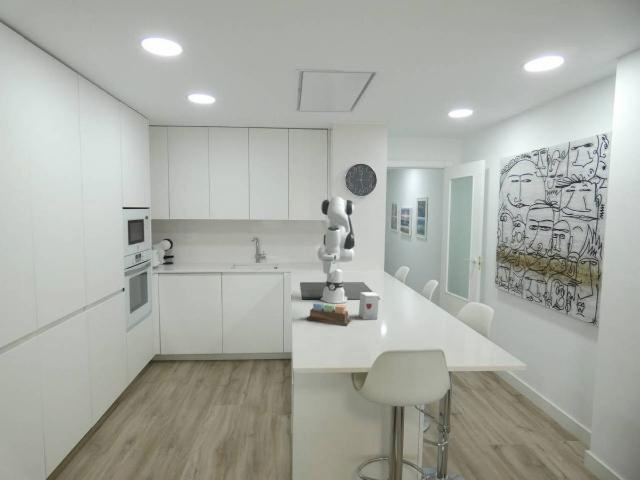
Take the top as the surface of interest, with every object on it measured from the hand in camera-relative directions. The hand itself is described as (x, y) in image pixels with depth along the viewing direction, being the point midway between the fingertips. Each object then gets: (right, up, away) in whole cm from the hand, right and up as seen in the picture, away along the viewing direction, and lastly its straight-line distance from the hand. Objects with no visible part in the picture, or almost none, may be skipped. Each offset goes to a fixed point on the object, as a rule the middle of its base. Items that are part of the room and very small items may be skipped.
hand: (330, 279), depth 228 cm
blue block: (-7, -20, +4) cm, 21 cm away
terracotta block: (+5, -21, 0) cm, 21 cm away
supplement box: (+23, -25, +13) cm, 36 cm away
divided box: (-1, -25, +2) cm, 25 cm away
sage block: (-1, -20, +2) cm, 20 cm away
